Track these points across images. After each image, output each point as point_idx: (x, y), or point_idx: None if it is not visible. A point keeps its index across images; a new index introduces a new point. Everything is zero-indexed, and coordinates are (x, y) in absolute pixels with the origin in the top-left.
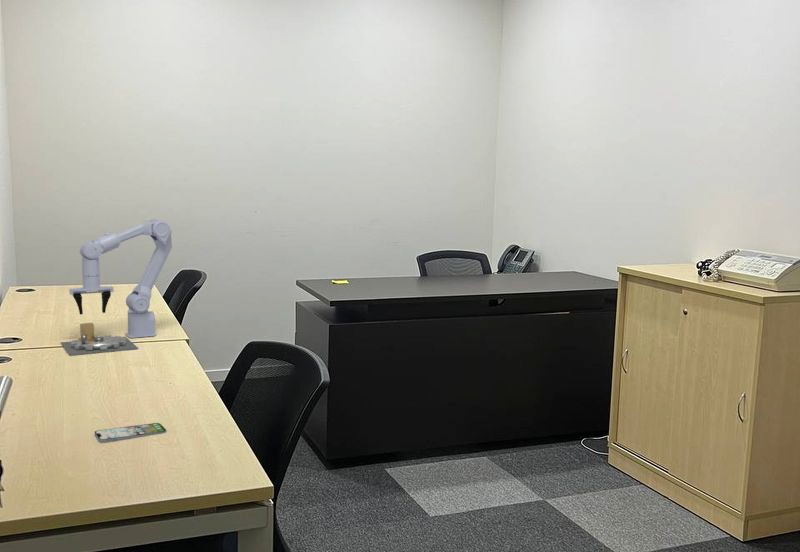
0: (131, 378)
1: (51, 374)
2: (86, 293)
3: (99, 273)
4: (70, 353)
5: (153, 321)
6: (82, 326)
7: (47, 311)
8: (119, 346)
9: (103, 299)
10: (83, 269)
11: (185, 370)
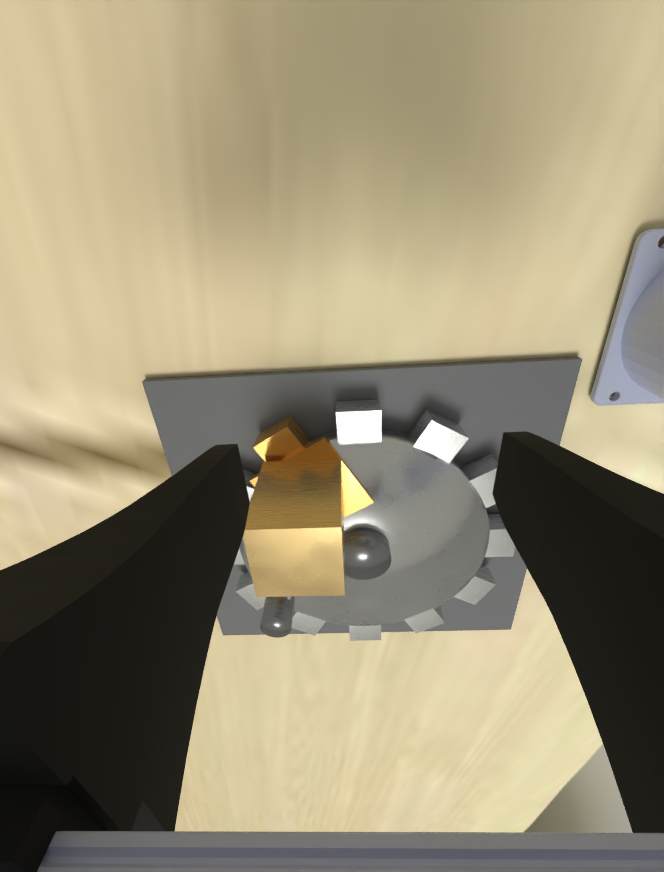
0: (376, 816)
1: (191, 760)
2: (252, 858)
3: None
4: (226, 621)
5: None
6: (262, 590)
7: None
8: (440, 608)
9: (602, 668)
10: None
11: (513, 810)
